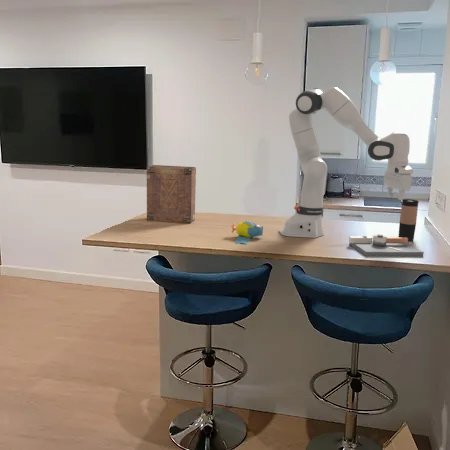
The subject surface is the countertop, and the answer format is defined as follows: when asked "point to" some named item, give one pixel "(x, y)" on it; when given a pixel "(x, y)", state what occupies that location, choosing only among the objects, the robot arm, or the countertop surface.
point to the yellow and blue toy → (247, 231)
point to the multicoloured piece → (388, 240)
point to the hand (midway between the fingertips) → (395, 197)
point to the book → (171, 193)
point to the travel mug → (408, 219)
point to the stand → (383, 248)
